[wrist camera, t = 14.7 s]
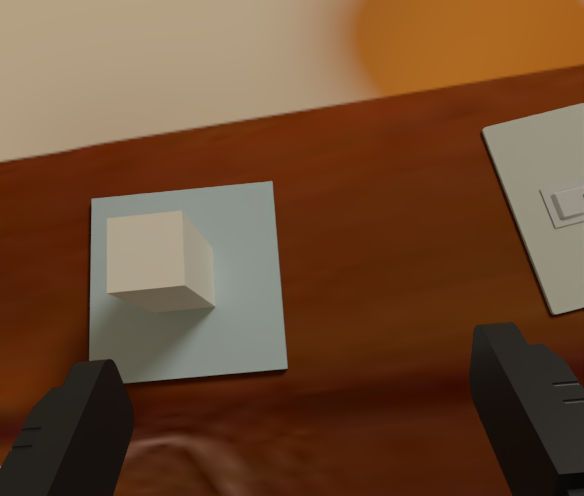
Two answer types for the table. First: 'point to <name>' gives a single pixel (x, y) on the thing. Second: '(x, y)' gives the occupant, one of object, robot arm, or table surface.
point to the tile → (204, 321)
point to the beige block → (159, 262)
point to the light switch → (546, 196)
